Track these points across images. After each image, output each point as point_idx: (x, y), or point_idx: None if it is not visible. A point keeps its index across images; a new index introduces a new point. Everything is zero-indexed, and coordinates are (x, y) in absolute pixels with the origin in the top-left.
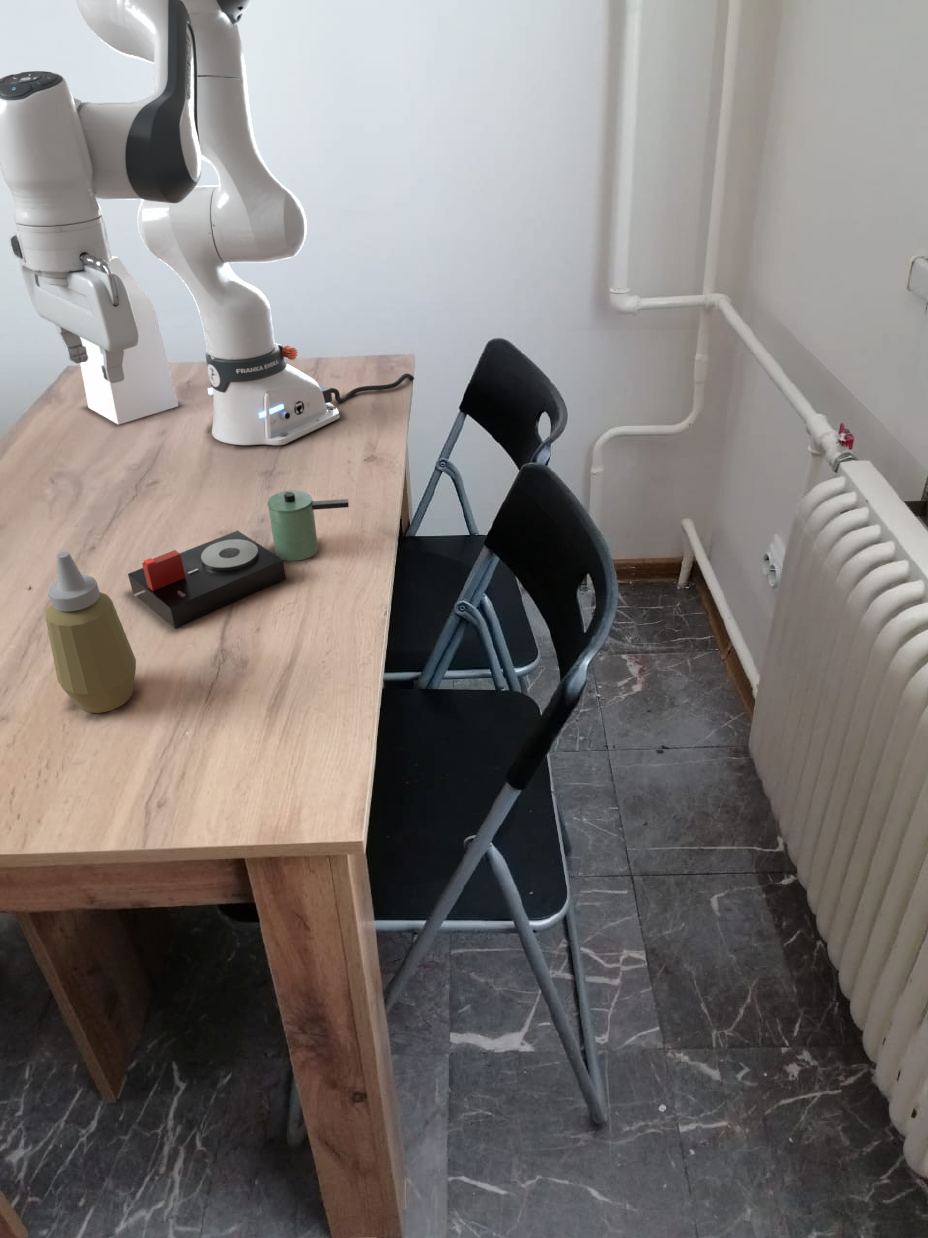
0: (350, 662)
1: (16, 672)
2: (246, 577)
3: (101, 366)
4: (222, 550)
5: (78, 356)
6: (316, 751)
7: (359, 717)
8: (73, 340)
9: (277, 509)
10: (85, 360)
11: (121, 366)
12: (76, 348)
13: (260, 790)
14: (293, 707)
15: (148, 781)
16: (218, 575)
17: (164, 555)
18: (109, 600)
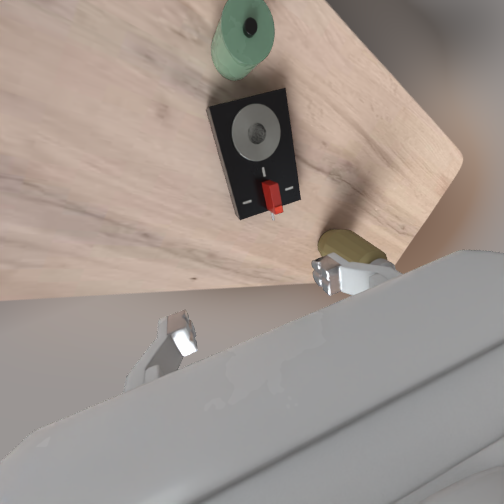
0: (388, 98)
1: (284, 282)
2: (291, 132)
3: (329, 294)
4: (250, 138)
5: (190, 329)
6: (425, 154)
7: (424, 120)
8: (169, 356)
9: (262, 58)
10: (186, 312)
11: (347, 261)
12: (193, 342)
13: (424, 187)
14: (395, 152)
15: (389, 230)
16: (278, 153)
17: (273, 196)
18: (377, 251)
